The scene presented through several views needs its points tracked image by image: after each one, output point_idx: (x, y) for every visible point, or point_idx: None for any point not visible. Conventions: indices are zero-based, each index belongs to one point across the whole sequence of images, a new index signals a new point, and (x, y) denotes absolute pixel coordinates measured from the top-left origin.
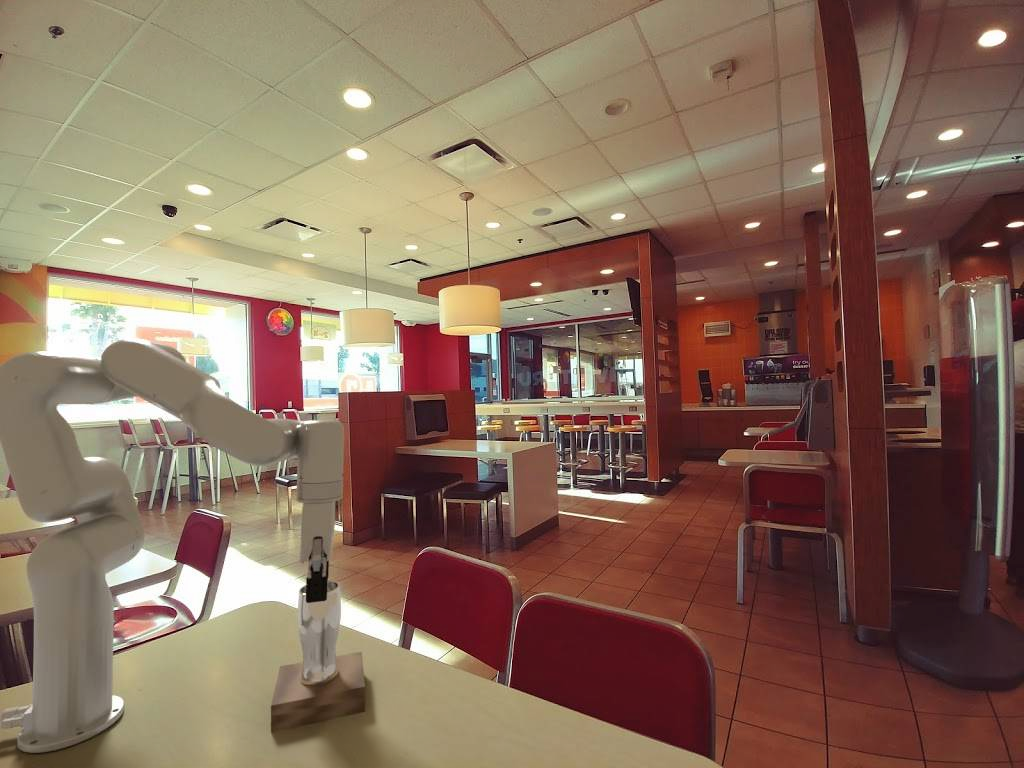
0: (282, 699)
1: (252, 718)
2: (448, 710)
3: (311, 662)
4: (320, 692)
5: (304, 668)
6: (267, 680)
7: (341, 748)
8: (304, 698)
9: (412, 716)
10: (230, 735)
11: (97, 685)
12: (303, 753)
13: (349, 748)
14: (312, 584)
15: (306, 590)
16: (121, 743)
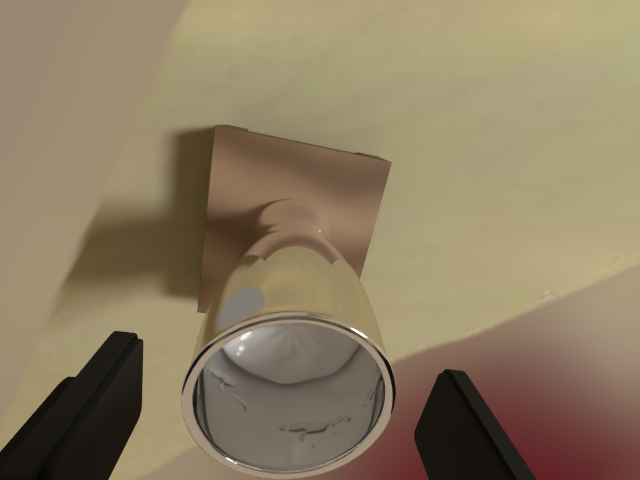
0: (229, 152)
1: (296, 92)
2: (149, 394)
3: (255, 235)
4: (218, 231)
5: (275, 214)
6: (431, 134)
7: (118, 234)
8: (210, 197)
9: (157, 347)
10: (257, 44)
11: None
12: (130, 174)
13: (112, 246)
14: (3, 459)
15: (74, 383)
16: None
